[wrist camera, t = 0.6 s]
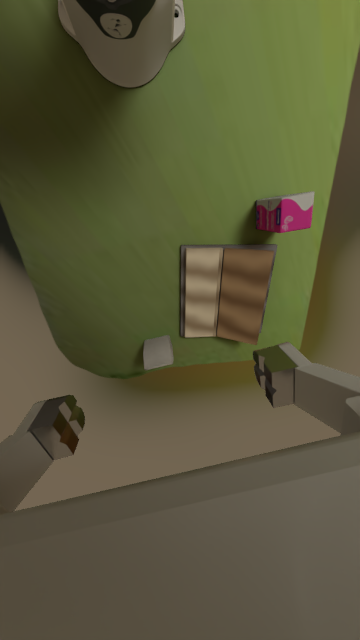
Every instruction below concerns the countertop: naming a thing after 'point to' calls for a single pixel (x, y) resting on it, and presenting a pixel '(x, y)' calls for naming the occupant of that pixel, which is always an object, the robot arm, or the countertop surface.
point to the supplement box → (285, 212)
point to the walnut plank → (243, 293)
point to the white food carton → (157, 352)
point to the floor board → (206, 286)
